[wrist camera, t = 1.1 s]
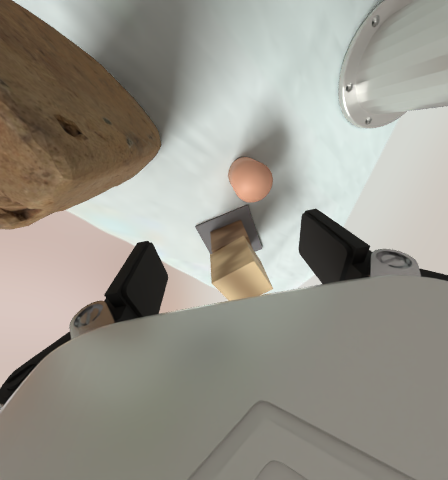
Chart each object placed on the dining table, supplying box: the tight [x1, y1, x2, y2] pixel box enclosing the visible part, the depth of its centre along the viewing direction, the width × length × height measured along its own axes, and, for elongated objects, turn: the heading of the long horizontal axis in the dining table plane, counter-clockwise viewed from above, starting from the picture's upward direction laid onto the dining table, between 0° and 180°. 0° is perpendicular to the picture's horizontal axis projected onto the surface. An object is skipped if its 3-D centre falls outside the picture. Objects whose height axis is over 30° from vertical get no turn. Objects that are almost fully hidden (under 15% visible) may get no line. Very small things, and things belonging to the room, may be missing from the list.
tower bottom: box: [210, 220, 253, 253], centre depth 30 cm, size 6×6×6 cm
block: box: [0, 0, 161, 229], centre depth 13 cm, size 11×8×20 cm
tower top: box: [210, 236, 273, 301], centre depth 24 cm, size 6×6×6 cm
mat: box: [195, 205, 262, 254], centre depth 32 cm, size 10×10×1 cm
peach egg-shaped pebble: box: [228, 157, 273, 202], centre depth 24 cm, size 5×5×6 cm
